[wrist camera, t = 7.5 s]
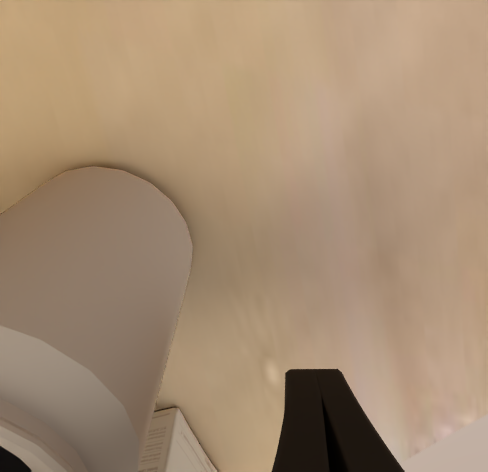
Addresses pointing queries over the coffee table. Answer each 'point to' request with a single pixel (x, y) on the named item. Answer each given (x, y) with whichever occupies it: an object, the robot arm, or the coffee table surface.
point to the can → (86, 319)
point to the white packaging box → (172, 446)
